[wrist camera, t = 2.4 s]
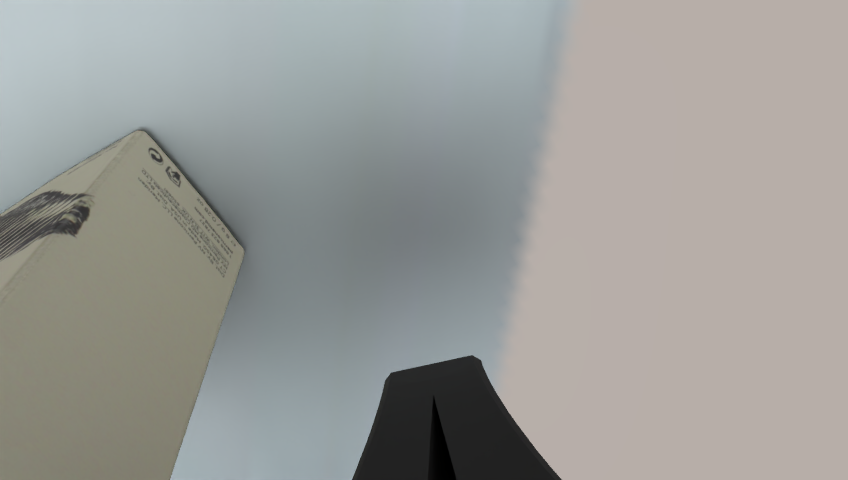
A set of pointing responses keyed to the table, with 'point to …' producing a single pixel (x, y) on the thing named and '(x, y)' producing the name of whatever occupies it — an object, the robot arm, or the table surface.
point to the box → (108, 316)
